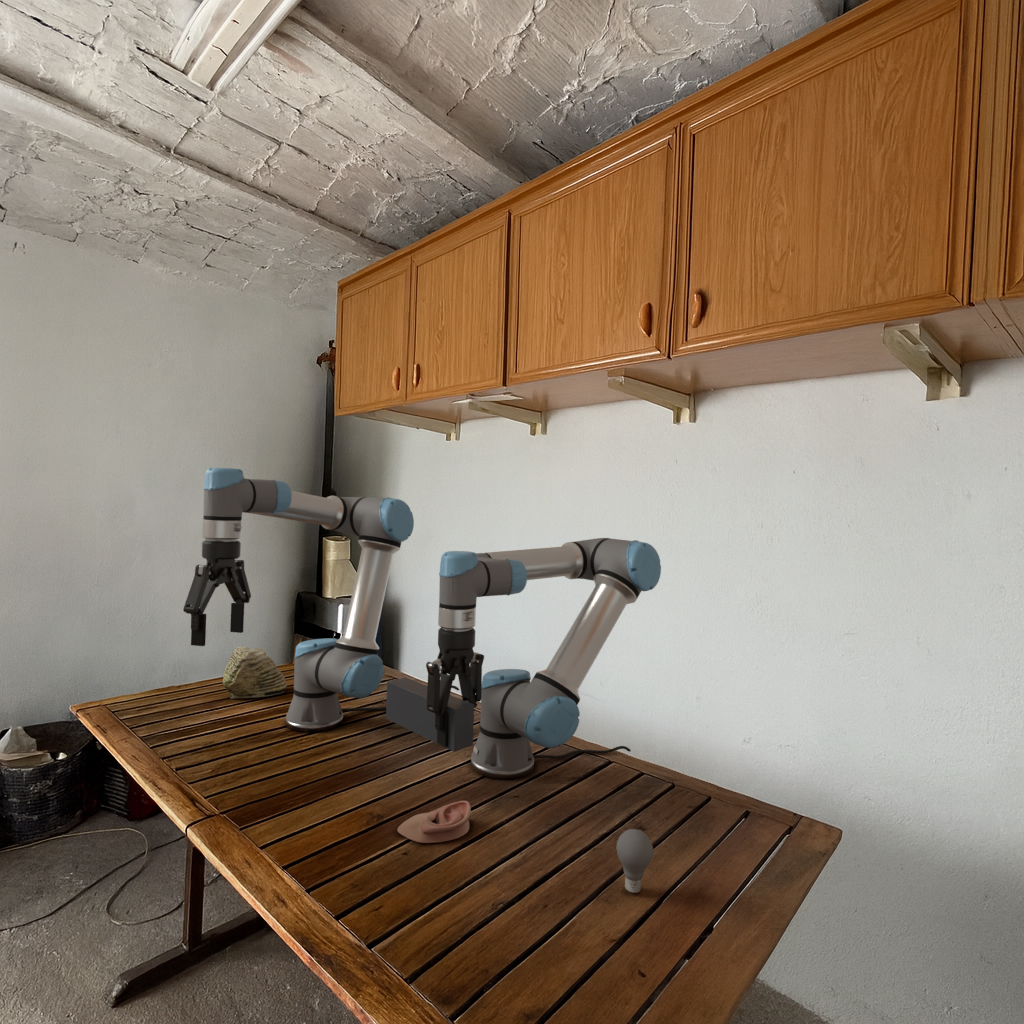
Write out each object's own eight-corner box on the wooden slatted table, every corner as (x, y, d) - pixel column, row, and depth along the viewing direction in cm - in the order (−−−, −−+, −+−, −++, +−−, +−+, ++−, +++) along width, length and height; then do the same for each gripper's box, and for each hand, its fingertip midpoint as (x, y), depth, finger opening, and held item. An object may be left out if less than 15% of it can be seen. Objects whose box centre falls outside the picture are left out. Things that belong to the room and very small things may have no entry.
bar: (385, 718, 142) (386, 681, 142) (404, 713, 146) (405, 677, 145) (453, 752, 125) (455, 709, 125) (473, 745, 128) (474, 704, 128)
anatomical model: (391, 817, 118) (413, 790, 130) (390, 838, 118) (412, 809, 130) (459, 827, 116) (476, 799, 127) (459, 849, 116) (475, 819, 127)
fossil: (218, 695, 195) (220, 647, 195) (278, 685, 208) (279, 640, 207) (228, 703, 189) (230, 653, 188) (289, 692, 201) (290, 645, 201)
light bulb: (610, 879, 108) (613, 822, 108) (644, 879, 109) (647, 822, 109) (619, 902, 102) (622, 840, 102) (655, 901, 103) (658, 840, 103)
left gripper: (200, 544, 123) (196, 653, 123) (268, 537, 147) (265, 628, 148) (165, 542, 124) (162, 650, 124) (239, 536, 149) (236, 626, 149)
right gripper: (432, 637, 119) (429, 759, 120) (502, 625, 132) (498, 735, 133) (409, 630, 125) (406, 746, 125) (478, 619, 137) (474, 725, 138)
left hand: (218, 638), depth 136 cm, fingers open, 13 cm apart
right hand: (453, 740), depth 129 cm, fingers closed on bar, 5 cm apart
